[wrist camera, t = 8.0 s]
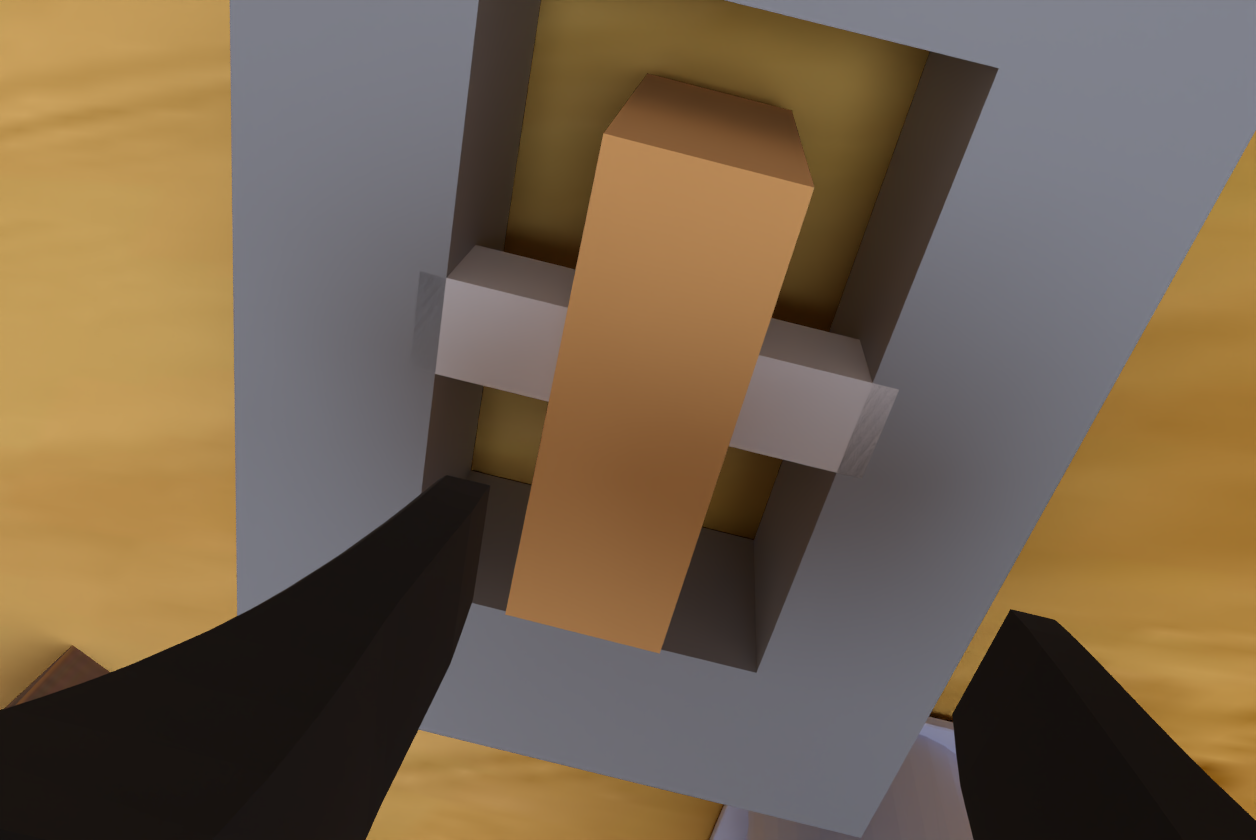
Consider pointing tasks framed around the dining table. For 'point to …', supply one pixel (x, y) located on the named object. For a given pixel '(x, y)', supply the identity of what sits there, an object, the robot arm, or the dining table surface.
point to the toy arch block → (656, 354)
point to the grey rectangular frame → (780, 384)
